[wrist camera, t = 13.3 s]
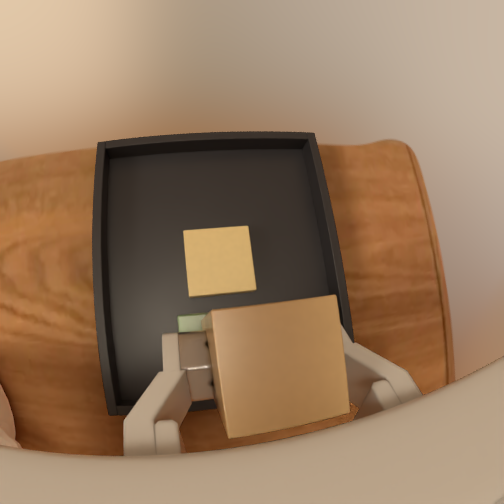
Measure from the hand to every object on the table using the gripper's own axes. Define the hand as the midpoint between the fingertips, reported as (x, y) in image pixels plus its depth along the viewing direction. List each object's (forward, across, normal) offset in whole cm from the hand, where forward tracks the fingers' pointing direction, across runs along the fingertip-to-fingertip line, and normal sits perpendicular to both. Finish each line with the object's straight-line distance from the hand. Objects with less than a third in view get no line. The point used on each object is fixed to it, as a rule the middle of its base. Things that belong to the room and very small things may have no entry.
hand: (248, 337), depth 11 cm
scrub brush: (+3, 0, +4) cm, 5 cm away
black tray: (+10, 0, +3) cm, 10 cm away
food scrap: (+9, 0, +3) cm, 10 cm away
